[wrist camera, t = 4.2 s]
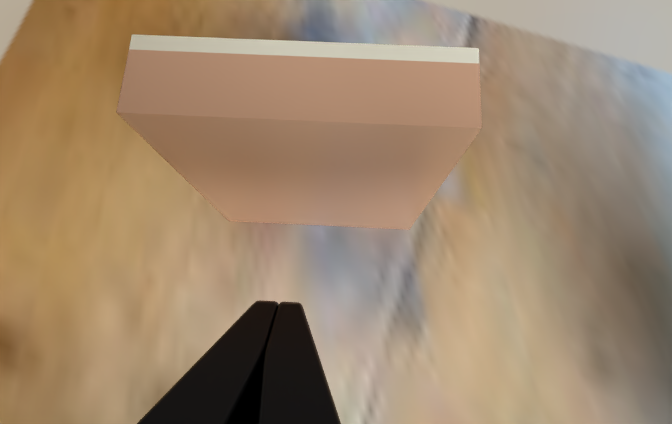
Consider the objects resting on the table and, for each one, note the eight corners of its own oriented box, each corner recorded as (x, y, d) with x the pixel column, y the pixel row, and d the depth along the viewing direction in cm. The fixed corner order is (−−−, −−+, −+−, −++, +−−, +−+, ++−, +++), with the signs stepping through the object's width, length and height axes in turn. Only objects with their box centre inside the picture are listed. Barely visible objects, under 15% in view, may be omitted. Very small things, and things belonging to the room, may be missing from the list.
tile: (409, 229, 19) (482, 128, 9) (228, 220, 19) (116, 112, 9) (409, 186, 19) (478, 48, 10) (233, 178, 20) (132, 34, 10)
